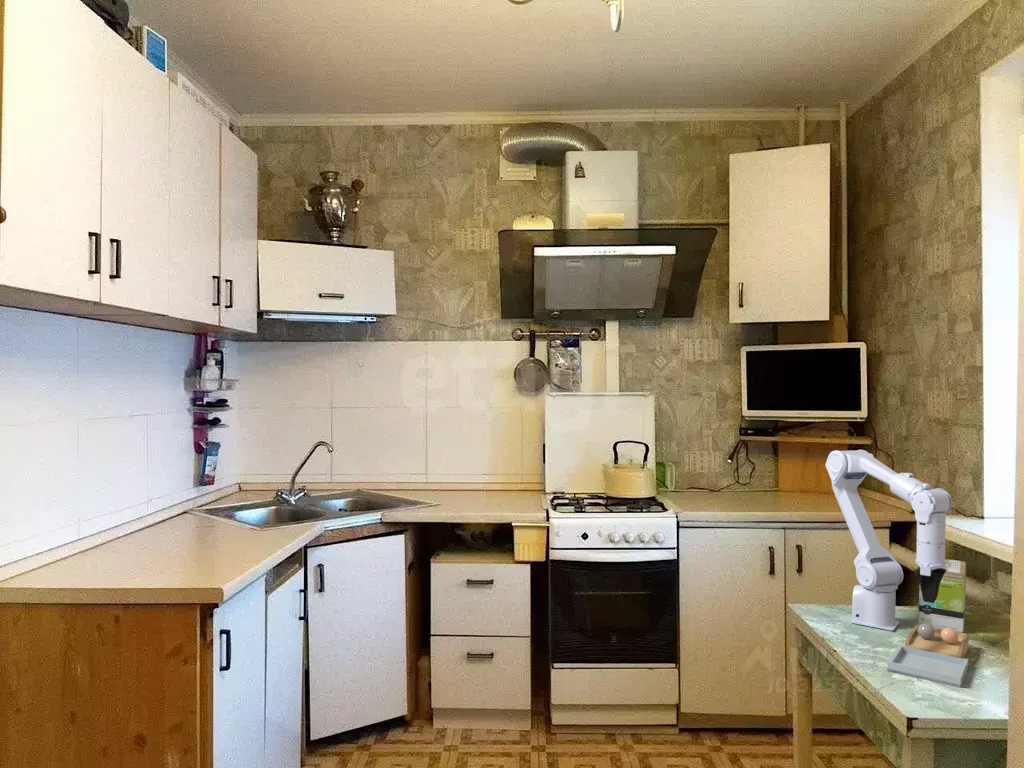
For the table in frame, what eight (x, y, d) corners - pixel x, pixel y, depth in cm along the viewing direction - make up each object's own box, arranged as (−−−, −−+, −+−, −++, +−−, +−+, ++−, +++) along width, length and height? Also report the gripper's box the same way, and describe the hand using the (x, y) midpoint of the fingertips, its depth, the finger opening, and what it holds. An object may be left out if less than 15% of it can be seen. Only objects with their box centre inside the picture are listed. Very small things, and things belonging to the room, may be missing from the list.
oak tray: (905, 655, 161) (905, 640, 161) (916, 637, 172) (916, 624, 172) (960, 666, 155) (961, 651, 155) (968, 648, 166) (968, 634, 166)
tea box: (965, 634, 176) (966, 572, 175) (917, 626, 181) (918, 566, 181) (965, 617, 188) (966, 559, 188) (920, 610, 194) (921, 554, 194)
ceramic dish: (887, 670, 152) (887, 662, 152) (899, 652, 162) (899, 644, 162) (960, 687, 144) (960, 678, 144) (968, 667, 154) (968, 659, 154)
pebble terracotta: (939, 643, 162) (939, 628, 162) (941, 639, 164) (941, 624, 164) (957, 647, 160) (957, 631, 160) (959, 642, 162) (959, 627, 162)
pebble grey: (916, 639, 164) (916, 623, 164) (918, 634, 167) (919, 620, 167) (933, 642, 162) (933, 627, 162) (935, 638, 165) (936, 623, 165)
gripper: (946, 549, 160) (945, 611, 160) (955, 539, 172) (954, 596, 172) (910, 545, 164) (909, 605, 164) (921, 534, 176) (920, 591, 176)
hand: (929, 600), depth 168 cm, fingers closed
